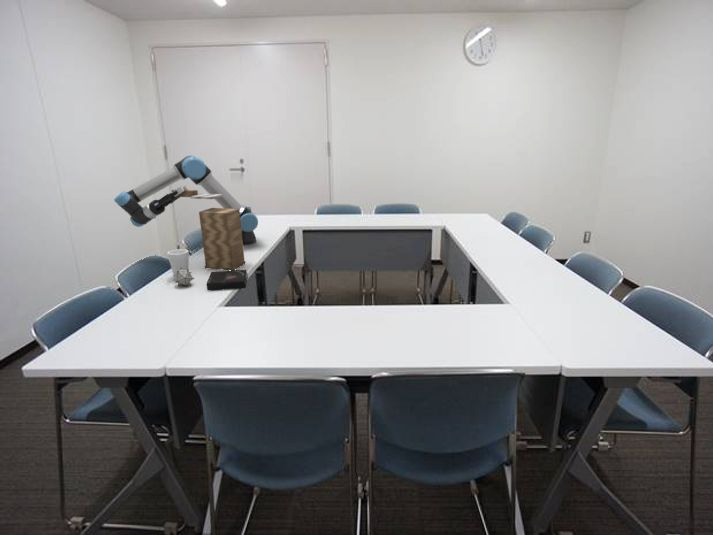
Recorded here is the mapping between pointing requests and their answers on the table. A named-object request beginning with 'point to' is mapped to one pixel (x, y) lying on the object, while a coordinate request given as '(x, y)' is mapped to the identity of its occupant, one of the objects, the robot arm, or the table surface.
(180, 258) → the foam cup
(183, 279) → the grey spiky ball
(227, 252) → the brown patterned box
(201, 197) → the turner
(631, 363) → the table surface
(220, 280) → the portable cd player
